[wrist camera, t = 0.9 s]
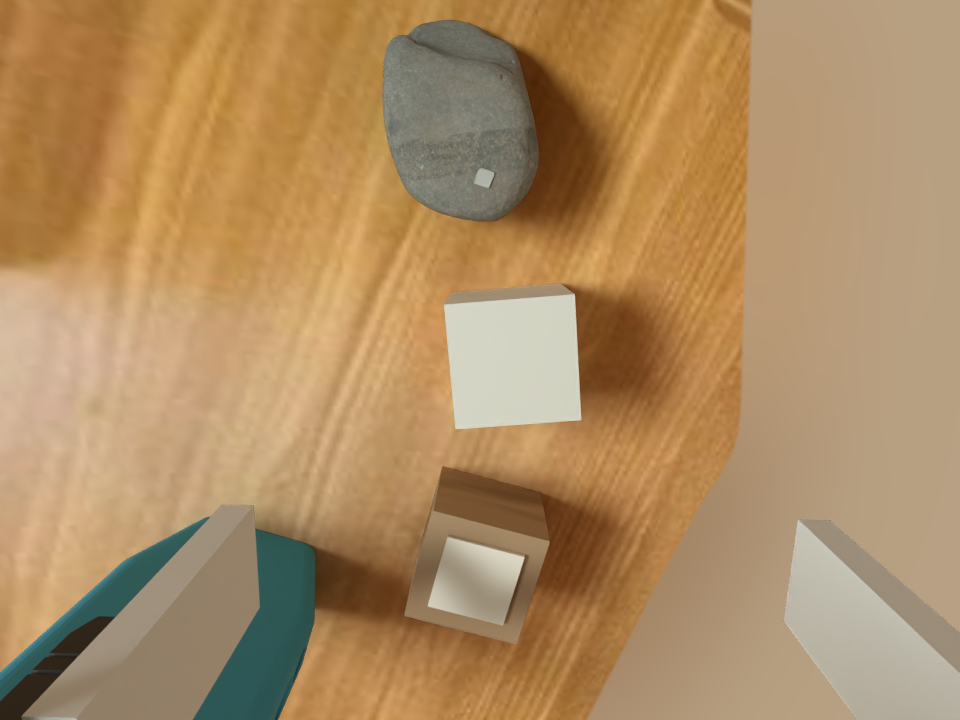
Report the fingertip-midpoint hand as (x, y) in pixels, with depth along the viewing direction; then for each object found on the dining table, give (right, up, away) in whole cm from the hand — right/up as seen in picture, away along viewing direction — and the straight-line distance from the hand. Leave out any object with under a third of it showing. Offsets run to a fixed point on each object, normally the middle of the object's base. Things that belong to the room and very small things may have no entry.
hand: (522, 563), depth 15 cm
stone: (-2, +19, +23) cm, 30 cm away
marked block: (-1, -7, +28) cm, 29 cm away
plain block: (+1, +6, +26) cm, 27 cm away
